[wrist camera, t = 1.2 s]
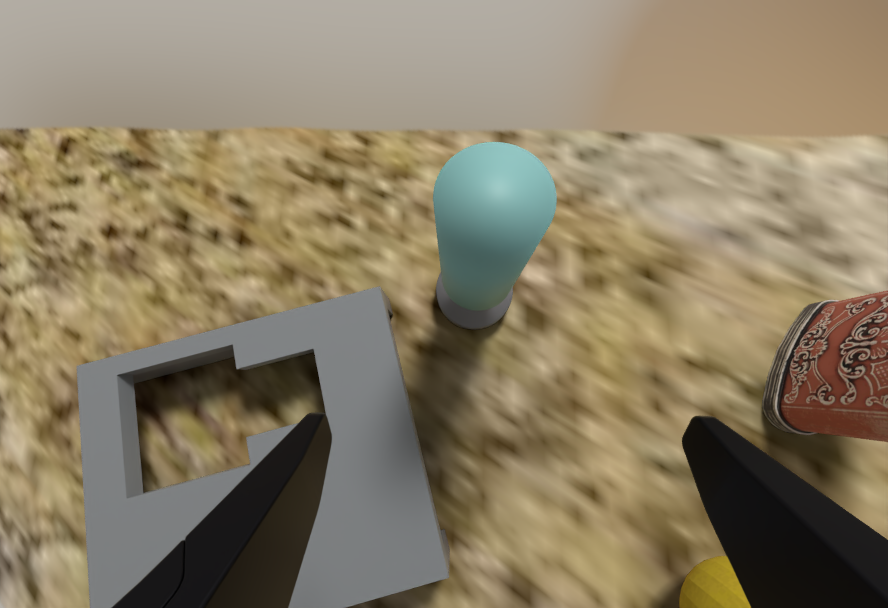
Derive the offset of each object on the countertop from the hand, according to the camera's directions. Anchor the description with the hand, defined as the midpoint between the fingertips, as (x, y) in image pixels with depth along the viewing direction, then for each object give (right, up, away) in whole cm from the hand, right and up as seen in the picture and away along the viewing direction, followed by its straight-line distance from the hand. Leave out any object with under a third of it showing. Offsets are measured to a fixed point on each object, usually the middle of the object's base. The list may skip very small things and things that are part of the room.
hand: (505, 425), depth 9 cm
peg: (0, +4, +13) cm, 14 cm away
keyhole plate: (-11, -5, +12) cm, 17 cm away
